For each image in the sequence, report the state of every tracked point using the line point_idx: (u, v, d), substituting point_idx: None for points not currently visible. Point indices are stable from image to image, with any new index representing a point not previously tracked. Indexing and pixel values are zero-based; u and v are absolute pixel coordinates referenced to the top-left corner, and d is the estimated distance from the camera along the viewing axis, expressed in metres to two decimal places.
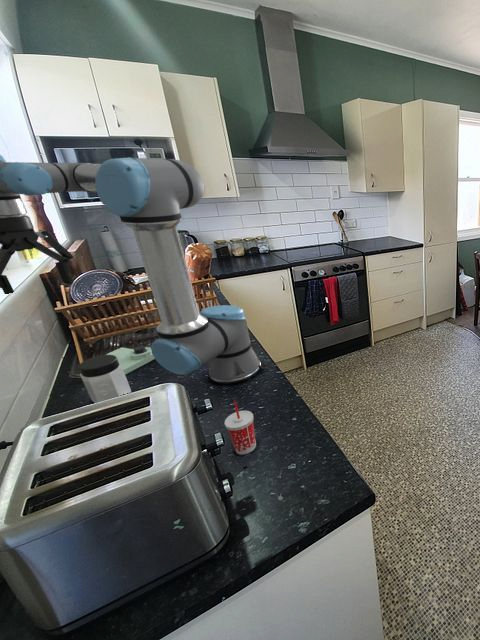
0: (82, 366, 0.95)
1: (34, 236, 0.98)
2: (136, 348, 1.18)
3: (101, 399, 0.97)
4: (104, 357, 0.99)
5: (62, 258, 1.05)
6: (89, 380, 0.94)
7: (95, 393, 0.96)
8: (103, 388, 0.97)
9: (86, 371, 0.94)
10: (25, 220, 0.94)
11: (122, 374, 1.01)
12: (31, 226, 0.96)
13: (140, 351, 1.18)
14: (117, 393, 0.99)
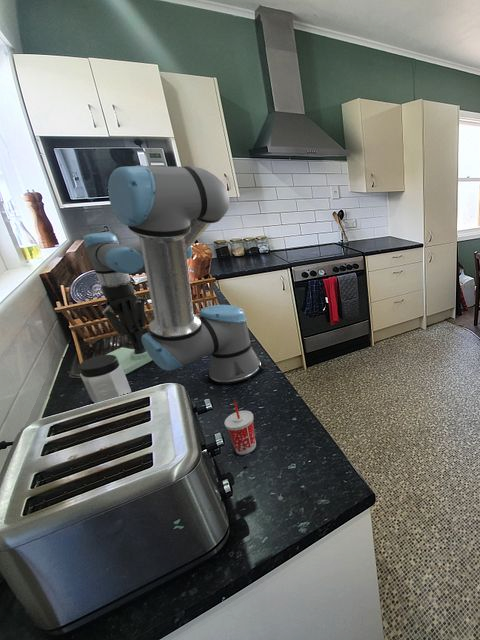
0: (82, 366, 0.95)
1: (133, 298, 1.14)
2: (137, 350, 1.18)
3: (101, 399, 0.97)
4: (104, 357, 0.99)
5: (138, 326, 1.16)
6: (89, 380, 0.94)
7: (95, 393, 0.96)
8: (103, 388, 0.97)
9: (86, 371, 0.94)
10: (130, 286, 1.10)
11: (122, 374, 1.01)
12: (133, 291, 1.11)
13: (141, 352, 1.18)
14: (117, 393, 0.99)
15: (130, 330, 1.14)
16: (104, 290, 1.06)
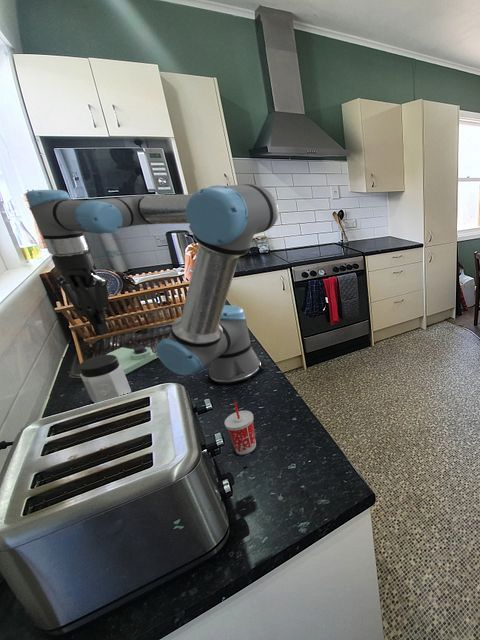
0: (82, 366, 0.95)
1: (85, 276, 0.92)
2: (136, 348, 1.18)
3: (101, 399, 0.97)
4: (104, 357, 0.99)
5: (93, 309, 0.96)
6: (89, 380, 0.94)
7: (95, 393, 0.96)
8: (103, 388, 0.97)
9: (86, 371, 0.94)
10: (63, 260, 0.88)
11: (122, 374, 1.01)
12: (72, 267, 0.89)
13: (140, 351, 1.18)
14: (117, 393, 0.99)
15: (83, 309, 0.96)
16: None
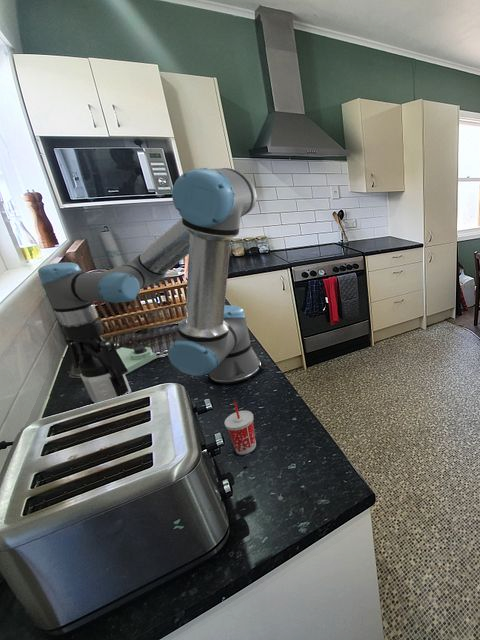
0: (82, 366, 0.95)
1: (93, 344, 0.93)
2: (136, 348, 1.18)
3: (101, 399, 0.97)
4: None
5: (110, 373, 0.96)
6: (89, 380, 0.94)
7: (95, 393, 0.96)
8: (103, 388, 0.97)
9: (86, 371, 0.94)
10: (71, 331, 0.89)
11: None
12: (79, 337, 0.90)
13: (140, 351, 1.18)
14: None
15: None
16: None
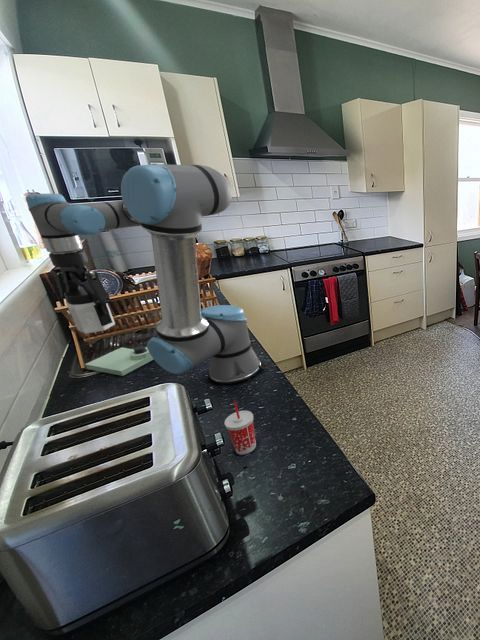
0: (68, 294, 1.02)
1: (78, 273, 1.00)
2: (136, 348, 1.18)
3: (86, 327, 1.05)
4: None
5: (95, 301, 1.03)
6: (74, 307, 1.02)
7: (80, 320, 1.03)
8: (87, 316, 1.04)
9: (71, 298, 1.01)
10: (57, 257, 0.96)
11: None
12: (64, 264, 0.97)
13: (140, 351, 1.18)
14: None
15: None
16: None
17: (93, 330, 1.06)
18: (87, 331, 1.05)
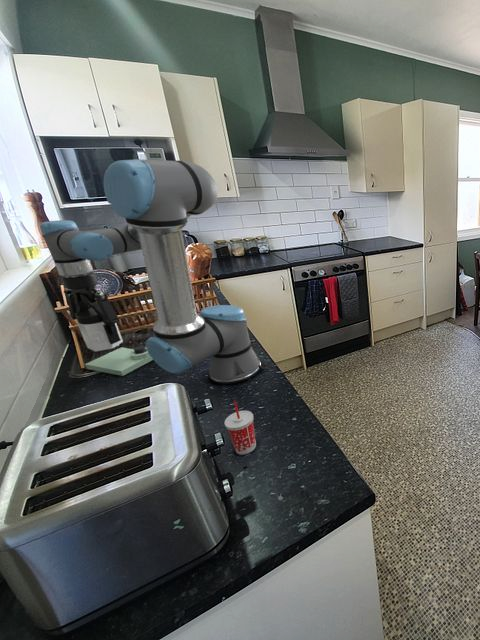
0: (79, 315, 1.07)
1: (88, 294, 1.05)
2: (136, 348, 1.18)
3: (95, 345, 1.10)
4: None
5: (104, 321, 1.08)
6: (85, 327, 1.07)
7: (90, 339, 1.08)
8: (97, 335, 1.09)
9: (82, 318, 1.06)
10: (69, 281, 1.01)
11: None
12: (76, 287, 1.02)
13: (140, 351, 1.18)
14: None
15: None
16: None
17: (102, 348, 1.11)
18: (96, 349, 1.10)
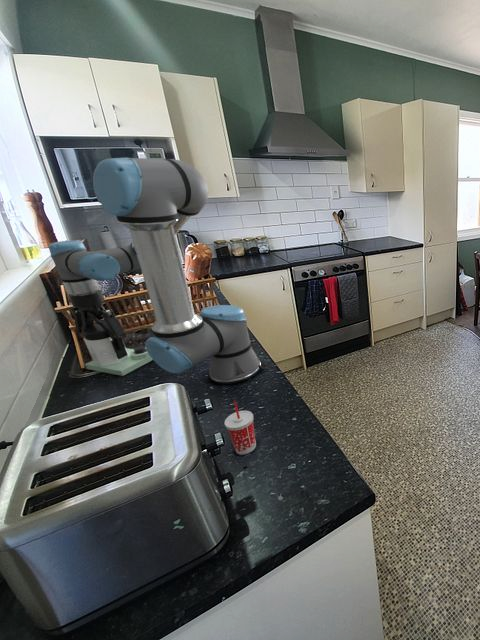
0: (85, 331, 1.09)
1: (95, 312, 1.07)
2: (136, 348, 1.18)
3: (102, 360, 1.12)
4: None
5: (112, 337, 1.10)
6: (91, 343, 1.09)
7: (97, 355, 1.11)
8: (103, 351, 1.11)
9: (89, 335, 1.08)
10: (76, 299, 1.03)
11: None
12: (83, 305, 1.05)
13: (140, 351, 1.18)
14: (116, 356, 1.14)
15: None
16: None
17: (108, 363, 1.13)
18: (103, 364, 1.12)
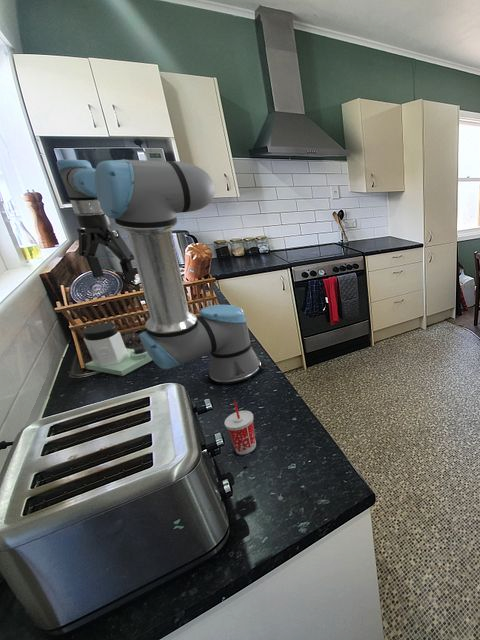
0: (85, 331, 1.09)
1: (102, 234, 1.09)
2: (136, 348, 1.18)
3: (102, 360, 1.12)
4: (104, 324, 1.14)
5: (120, 258, 1.11)
6: (91, 343, 1.09)
7: (97, 355, 1.11)
8: (103, 351, 1.11)
9: (89, 335, 1.08)
10: (84, 219, 1.05)
11: (120, 340, 1.15)
12: (90, 225, 1.06)
13: (140, 351, 1.18)
14: (116, 356, 1.14)
15: (85, 254, 1.14)
16: None
17: (108, 363, 1.13)
18: (103, 364, 1.12)
